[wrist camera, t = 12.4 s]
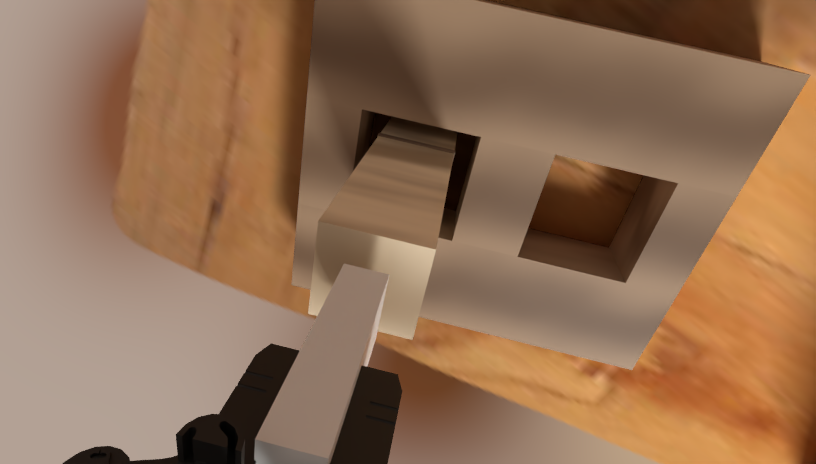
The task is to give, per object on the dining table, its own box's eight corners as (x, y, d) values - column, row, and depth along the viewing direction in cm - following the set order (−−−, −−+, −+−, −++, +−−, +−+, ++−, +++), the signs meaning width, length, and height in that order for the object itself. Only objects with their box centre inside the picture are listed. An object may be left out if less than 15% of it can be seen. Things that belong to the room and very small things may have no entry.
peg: (392, 114, 27) (316, 219, 15) (459, 130, 27) (437, 248, 15) (380, 177, 29) (306, 314, 17) (443, 192, 29) (413, 341, 17)
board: (341, -32, 24) (317, -35, 21) (761, 61, 23) (810, 75, 20) (312, 253, 33) (291, 284, 29) (615, 328, 32) (631, 369, 29)
